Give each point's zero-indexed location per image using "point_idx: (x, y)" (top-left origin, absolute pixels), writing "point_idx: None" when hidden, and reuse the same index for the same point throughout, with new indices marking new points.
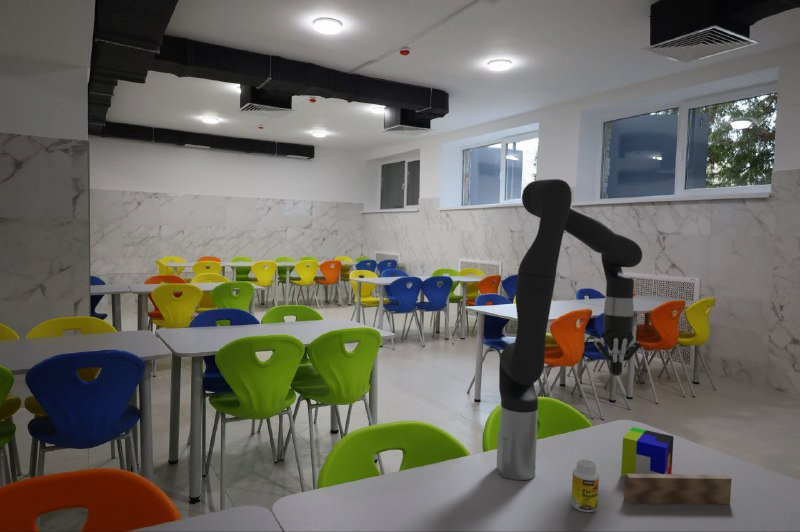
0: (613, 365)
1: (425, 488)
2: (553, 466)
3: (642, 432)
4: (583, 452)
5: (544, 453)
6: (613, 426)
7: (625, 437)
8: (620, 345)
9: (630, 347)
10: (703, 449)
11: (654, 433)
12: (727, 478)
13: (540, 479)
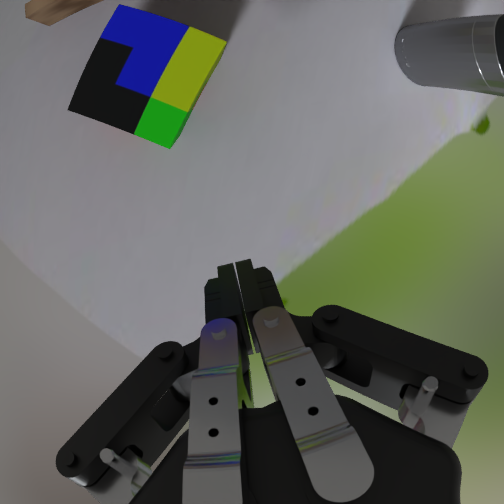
0: (269, 299)
1: None
2: (358, 82)
3: (149, 106)
4: (280, 168)
5: (364, 145)
6: (185, 332)
7: (218, 45)
8: (249, 446)
9: (142, 453)
10: (33, 263)
11: (114, 111)
12: (31, 1)
13: (386, 28)
